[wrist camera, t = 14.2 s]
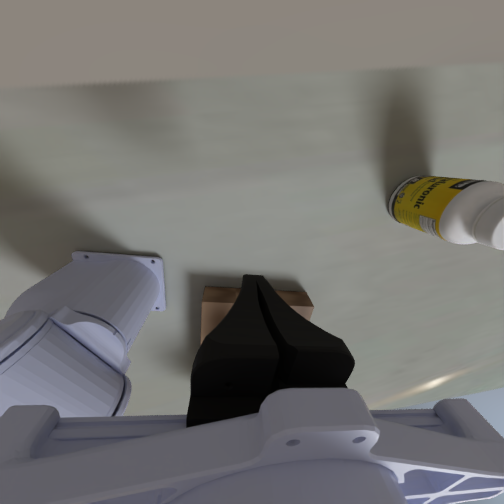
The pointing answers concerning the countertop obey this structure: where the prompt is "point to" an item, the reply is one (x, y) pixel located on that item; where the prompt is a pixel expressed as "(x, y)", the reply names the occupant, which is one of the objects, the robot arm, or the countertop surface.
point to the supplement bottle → (452, 209)
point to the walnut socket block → (222, 300)
